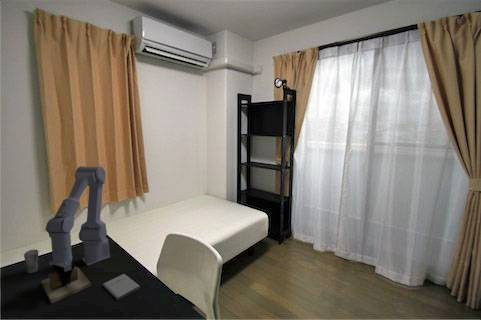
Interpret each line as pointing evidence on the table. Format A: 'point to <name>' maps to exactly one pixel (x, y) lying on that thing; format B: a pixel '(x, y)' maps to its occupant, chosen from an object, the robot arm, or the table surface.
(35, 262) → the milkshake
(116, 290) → the external hard drive
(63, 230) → the robot arm
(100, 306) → the table surface
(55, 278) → the block
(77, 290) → the board
